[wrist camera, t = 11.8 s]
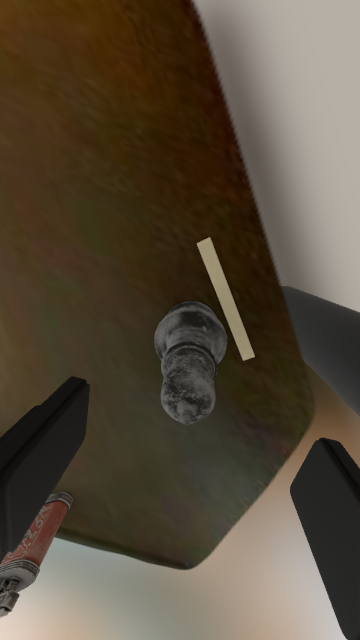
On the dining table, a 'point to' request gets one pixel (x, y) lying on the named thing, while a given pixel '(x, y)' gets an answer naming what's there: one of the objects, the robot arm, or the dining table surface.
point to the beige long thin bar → (225, 297)
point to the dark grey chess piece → (189, 360)
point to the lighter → (31, 551)
